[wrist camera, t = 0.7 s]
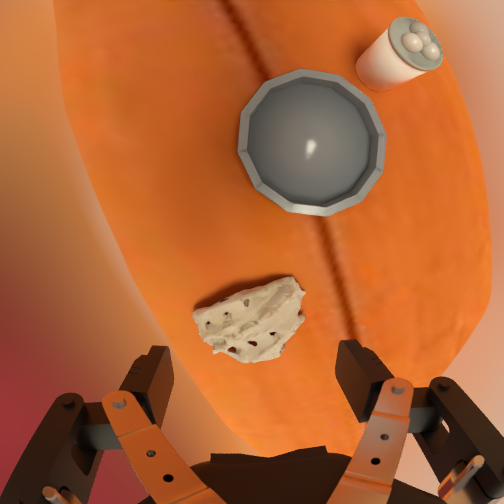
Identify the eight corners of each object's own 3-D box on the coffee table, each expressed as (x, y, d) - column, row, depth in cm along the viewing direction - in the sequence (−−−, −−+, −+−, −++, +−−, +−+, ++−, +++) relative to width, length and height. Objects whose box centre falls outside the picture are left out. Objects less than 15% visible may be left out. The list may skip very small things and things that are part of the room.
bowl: (218, 110, 31) (213, 104, 28) (339, 63, 28) (347, 54, 25) (276, 230, 35) (278, 237, 32) (392, 180, 33) (404, 183, 29)
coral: (298, 271, 37) (303, 288, 32) (306, 343, 41) (310, 365, 36) (189, 287, 39) (178, 305, 34) (209, 354, 42) (203, 375, 37)
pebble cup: (346, 57, 28) (385, 11, 15) (383, 49, 27) (431, 9, 14) (367, 97, 30) (420, 68, 16) (403, 87, 29) (461, 62, 15)
